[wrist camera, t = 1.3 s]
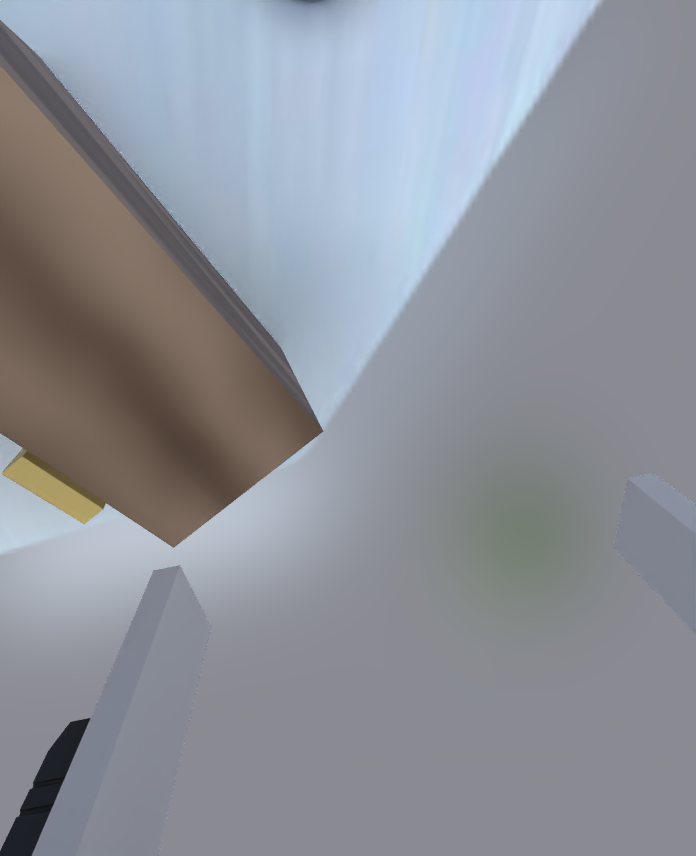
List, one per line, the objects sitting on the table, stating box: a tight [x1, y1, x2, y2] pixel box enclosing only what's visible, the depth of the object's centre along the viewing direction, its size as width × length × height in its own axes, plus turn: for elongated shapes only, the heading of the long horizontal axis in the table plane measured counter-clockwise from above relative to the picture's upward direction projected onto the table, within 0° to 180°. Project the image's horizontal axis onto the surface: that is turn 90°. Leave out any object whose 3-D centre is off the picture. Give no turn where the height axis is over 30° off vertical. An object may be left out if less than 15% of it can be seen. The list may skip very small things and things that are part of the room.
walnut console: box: [0, 20, 323, 547], centre depth 22 cm, size 10×22×16 cm, turn 34°
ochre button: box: [1, 448, 105, 524], centre depth 25 cm, size 8×5×5 cm, turn 124°
